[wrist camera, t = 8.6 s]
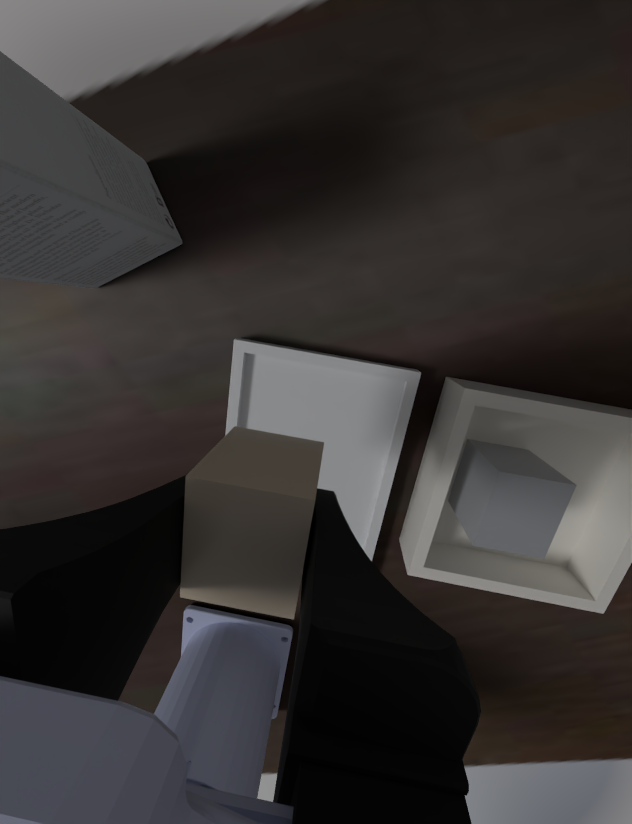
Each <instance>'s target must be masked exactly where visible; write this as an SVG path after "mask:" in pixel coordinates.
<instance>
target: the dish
mask: <svg viewBox="0 0 632 824" xmlns="http://www.w3.org/2000/svg"><path fill="white" fill-rule="evenodd" d="M467 439H471V440H476V441H482V442H488V443H493V444H499V445H505V446H510V447H516V448H522V449H527V450H530V451H531V452H532V453H534V454H535V455H536V456H538V457H539V458H540V459H542V460H543V461H545V462H546V463H547V464H549V465H550V466H551V467H553V468H554V469H555V470H557V471H558V472H559V473H561V474H562V475H564V476H565V477H566V478H568V479H569V480H570V481H572V482H573V483H574V484H576V485H577V486H576V488H575V490H574V493H573V495H572V497H571V499H570V502H569V504H568V506H567V508H566V511H565V513H564V515H563V518H562V520H561V522H560V524H559V527H558V529H557V531H556V533H555V536H554V538H553V540H552V543H551V545H550V547H549V549H548V552H547V554H546V556H545V558H544V559H542V558H536V557H531V556H526V555H520V554H515V553H509V552H504V551H499V550H493V549H488V548H483V547H477V546H473V545H472V543H471V541H470V540H469V538H468V536H467V534H466V532H465V531H464V529H463V527H462V525H461V523H460V522H459V520H458V518H457V516H456V514H455V513H454V511H453V509H452V507H451V505H450V504H449V502H448V499H449V496H450V493H451V489H452V486H453V483H454V480H455V477H456V474H457V470H458V467H459V464H460V461H461V458H462V454H463V451H464V448H465V445H466V442H467ZM399 541H400V545H401V549H402V554H403V558H404V562H405V566H406V570H407V574H408V575H411V576H416V577H421V578H426V579H431V580H436V581H441V582H446V583H451V584H456V585H461V586H466V587H471V588H477V589H482V590H487V591H492V592H497V593H502V594H507V595H512V596H517V597H522V598H527V599H532V600H537V601H542V602H547V603H552V604H557V605H562V606H567V607H572V608H577V609H582V610H587V611H592V612H597V613H602V614H604V612H605V610H606V608H607V607H608V605H609V603H610V601H611V599H612V597H613V596H614V594H615V592H616V590H617V588H618V586H619V585H620V583H621V581H622V579H623V577H624V575H625V574H626V572H627V570H628V568H629V566H630V564H631V563H632V410H631V409H625V408H620V407H614V406H608V405H603V404H597V403H592V402H586V401H580V400H575V399H569V398H563V397H558V396H552V395H547V394H541V393H535V392H530V391H524V390H519V389H513V388H507V387H502V386H496V385H491V384H485V383H479V382H474V381H468V380H462V379H457V378H451V377H446V378H445V381H444V385H443V388H442V392H441V395H440V399H439V402H438V406H437V409H436V413H435V416H434V420H433V423H432V427H431V430H430V434H429V437H428V441H427V444H426V448H425V451H424V455H423V458H422V462H421V465H420V469H419V472H418V476H417V479H416V483H415V486H414V490H413V493H412V497H411V500H410V504H409V507H408V511H407V514H406V518H405V521H404V525H403V528H402V532H401V535H400V539H399Z"/></svg>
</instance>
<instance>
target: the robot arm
mask: <svg viewBox="0 0 632 824" xmlns="http://www.w3.org/2000/svg"><path fill="white" fill-rule="evenodd" d="M185 480H186V475H185V476H183V477H181V478H178V479H176V480H174V481H172V482H170V483H167V484H165V485H163V486H161V487H158V488H156V489H153V490H151V491H148V492H146V493H143V494H141V495H138V496H136V497H133V498H131V499H128V500H125V501H122V502H119V503H116V504H113V505H110V506H107V507H103V508H100V509H97V510H93V511H90V512H86V513H82V514H77V515H73V516H69V517H65V518H61V519H57V520H52V521H47V522H42V523H37V524H31V525H26V526H19V527H13V528H7V529H0V824H471V820H470V816H469V812H468V808H467V804H466V800H465V796H464V795H467V793H468V791H469V784H468V780H467V776H466V772H465V768H464V765H463V761H462V759H463V756H464V754H465V752H466V750H467V747H468V745H469V743H470V741H471V739H472V736H473V734H474V732H475V730H476V727H477V725H478V721H479V717H480V713H481V709H480V702H479V696H478V693H477V691H476V688H475V685H474V682H473V679H472V676H471V674H470V671H469V669H468V666H467V664H466V662H465V659H464V657H463V655H462V653H461V651H460V649H459V647H458V645H457V642H456V640H455V638H454V637H452V636H451V635H450V634H449V633H447V632H446V631H445V630H443V629H442V628H441V627H440V626H438V625H437V624H436V623H434V622H433V621H432V620H430V619H429V618H428V617H427V616H425V615H424V614H423V613H422V612H420V611H419V610H418V609H417V608H416V607H415V606H414V605H413V604H411V603H410V602H409V601H408V600H407V599H406V598H405V597H404V596H403V595H402V594H401V593H400V592H399V591H398V590H397V589H395V588H394V586H393V585H392V584H391V583H390V582H389V581H388V580H387V579H386V578H385V577H384V576H383V575H382V574H381V572H380V571H379V570H378V569H377V568H376V566H375V565H374V564H373V563H372V561H371V560H370V559H369V557H368V556H367V555H366V553H365V552H364V550H363V549H362V547H361V546H360V544H359V542H358V541H357V539H356V538H355V536H354V534H353V532H352V530H351V529H350V527H349V525H348V523H347V521H346V519H345V517H344V515H343V512H342V510H341V508H340V505H339V503H338V500H337V497H336V494H335V493H334V491H330V490H324V489H319V488H317V492H316V499H315V505H314V510H313V516H312V521H311V527H310V532H309V538H308V543H307V549H306V554H305V560H304V566H303V575H302V591H301V607H300V623H299V634H298V643H297V650H296V656H295V663H294V670H293V676H292V683H291V689H290V696H289V703H288V709H287V716H286V722H285V729H284V735H283V742H282V748H281V755H280V761H279V768H278V774H277V781H276V787H275V794H274V800H273V802H269V801H265V800H261V799H257V796H258V790H259V785H260V779H261V774H262V768H263V763H264V757H265V752H266V746H267V741H268V735H269V730H270V724H271V719H274V718H275V717H277V713H278V708H279V703H280V697H281V692H282V687H283V682H284V677H285V671H286V666H287V661H288V656H289V651H290V645H291V640H292V635H293V629H292V627H291V626H289V625H286V624H281V623H277V622H272V621H267V620H262V619H257V618H252V617H247V616H243V615H238V614H233V613H228V612H223V611H218V610H213V609H209V608H204V607H199V606H194V605H189V606H187V607H186V609H185V611H184V618H183V634H182V650H181V659H180V661H179V663H178V665H177V667H176V669H175V671H174V673H173V675H172V677H171V679H170V682H169V684H168V686H167V688H166V690H165V692H164V694H163V696H162V698H161V700H160V703H159V705H158V707H157V709H156V711H155V713H154V714H152V713H149V712H147V711H144V710H142V709H140V708H137V707H135V706H132V705H130V704H127V703H125V702H121V701H118V699H119V697H120V695H121V693H122V691H123V689H124V687H125V685H126V682H127V680H128V678H129V676H130V674H131V672H132V670H133V668H134V666H135V664H136V662H137V660H138V658H139V656H140V654H141V652H142V650H143V648H144V646H145V644H146V642H147V640H148V639H149V637H150V635H151V633H152V631H153V629H154V627H155V625H156V623H157V621H158V619H159V617H160V616H161V614H162V612H163V610H164V609H165V607H166V605H167V604H168V602H169V600H170V599H171V597H172V596H173V594H174V592H175V591H176V589H177V588H178V586H179V585H180V583H181V565H182V544H183V523H184V501H185Z"/></svg>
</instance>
